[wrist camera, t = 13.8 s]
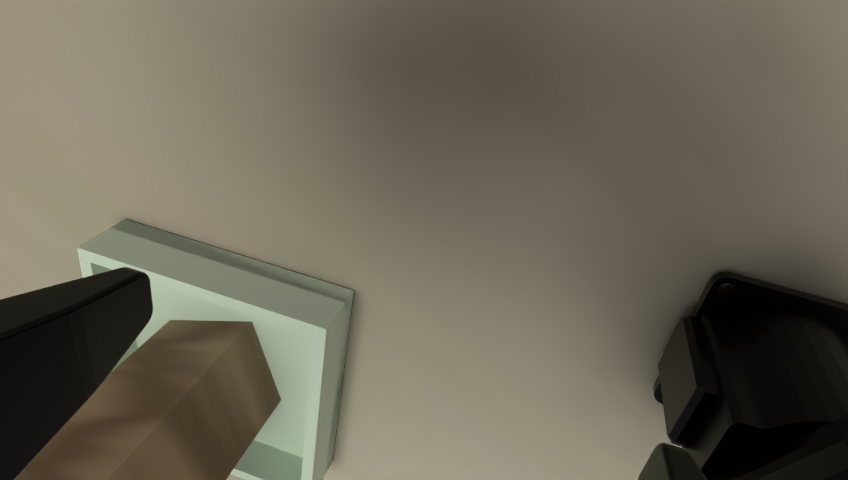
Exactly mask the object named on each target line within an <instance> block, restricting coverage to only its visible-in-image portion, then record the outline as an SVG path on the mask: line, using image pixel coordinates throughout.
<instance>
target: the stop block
mask: <svg viewBox="0 0 848 480" xmlns="http://www.w3.org/2000/svg"><path fill="white" fill-rule="evenodd" d="M280 401H281V398H280V395H279V392H278V390H277V387H276V384H275V382H274V379H273V376H272V374H271V371H270V368H269V366H268V363H267V360H266V358H265V355H264V352H263V349H262V347H261V344H260V341H259V339H258V336H257V333H256V331H255V328H254V325H253V323H252V322H248V321H198V320H169V321H168V322H167V323H166V324H165V325H164V326H163V327H162V328H160V329H159V330H158V331H157V332H156V333H155V334H154V335H152V336H151V337H150V338H149V339H148V340H147V341H146V342H145V343H143V344H142V345H141V346H140V347H139V348H138V349H137V350H136V351H134V352H133V353H132V354H131V355H130V356H129V357H128V358H126V359H125V360H124V361H123V362H122V363H121V364H120V365H119V366H117V367H116V368H115V369H114V370H113V371H112V372H111V373H110V374H109V375H108V376H107V378H106V379H105V380H104V382H103V383H102V384H101V385H100V386H99V388H98V389H97V390H96V391H95V392H94V394H93V395H92V396H91V397H90V398H89V399H88V400H87V401H86V403H85V404H84V405H83V406H82V407H81V408H80V409H79V410H78V411H77V412H76V413H75V414H74V415H73V417H72V418H71V419H70V420H69V421H68V422H67V423H66V424H65V425H64V426H63V427H62V428H61V430H60V431H59V432H58V433H57V434H56V435H55V436H54V437H53V438H52V439H51V440H50V441H49V443H48V444H47V445H46V446H45V447H44V448H43V449H42V450H41V451H40V452H39V453H38V454H37V455H36V457H35V458H34V459H33V460H32V461H31V462H30V463H29V464H28V465H27V466H26V467H25V468H24V470H23V471H22V472H21V473H20V474H19V475H18V476H17V477H16V478H15V479H14V480H226V479H227V477H228V476H229V475H230V473H231V472H232V470H233V469H234V467H235V466H236V464H237V463H238V462H239V460H240V459H241V457H242V456H243V454H244V453H245V451H246V450H247V449H248V447H249V446H250V444H251V443H252V441H253V440H254V439H255V437H256V436H257V434H258V433H259V431H260V430H261V428H262V427H263V426H264V424H265V423H266V421H267V420H268V418H269V417H270V415H271V414H272V413H273V411H274V410H275V408H276V407H277V405H278V404H279V403H280Z"/></svg>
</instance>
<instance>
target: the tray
mask: <svg viewBox="0 0 848 480" xmlns="http://www.w3.org/2000/svg"><path fill="white" fill-rule="evenodd" d="M77 250H78V255H79V260H80V266H81V271H82V276H83V278H84V277H88V276H92V275H95V274H99V273H103V272H107V271H110V270H114V269H118V268H122V267H128V268H132V269H135V270H138V271H141V272H144V273H146V274H147V275H148V277H149V279H150V285H151V294H152V302H153V313H152V316H151V319H150V321H149V322H148V324H147V325H146V326H145V328H144V329H143V330H142V332H141V333H140V334H139V336H138V337H137V338H136V340H135V341H134V342H133V344H132V345H131V346H130V348H129V349H128V350H127V351H126V353H125V354H124V355H123V357H122V358H121V359H120V361H119V362H118V363H117V365H116V366H115V367H114V369H115V368H116V367H117V366H119V365H120V364H121V363H122V362H123V361H124V360H125V359H126V358H128V357H129V356H130V355H131V354H132V353H133V352H134V351H136V350H137V349H138V348H139V347H140V346H141V345H142V344H143V343H145V342H146V341H147V340H148V339H149V338H150V337H151V336H152V335H154V334H155V333H156V332H157V331H158V330H159V329H160V328H162V327H163V326H164V325H165V324H166V323H167V322H168V321H169V320H198V321H248V322H252V323H253V325H254V328H255V331H256V333H257V336H258V339H259V341H260V344H261V347H262V349H263V352H264V355H265V358H266V360H267V363H268V366H269V368H270V371H271V374H272V376H273V379H274V382H275V384H276V387H277V390H278V392H279V395H280V398H281V401H280V403H279V404H278V405H277V407H276V408H275V410H274V411H273V413H272V414H271V415H270V417H269V418H268V420H267V421H266V423H265V424H264V426H263V427H262V428H261V430H260V431H259V433H258V434H257V436H256V437H255V439H254V440H253V441H252V443H251V444H250V446H249V447H248V449H247V450H246V451H245V453H244V454H243V456H242V457H241V459H240V460H239V462H238V463H237V464H236V466H235V467H234V469H233V470H232V472H231V473H230V474H232V475H234V476H237V477H239V478H242V479H245V480H323V478H324V476H325V474H326V472H327V470H328V468H329V466H330V464H331V462H332V460H333V455H334V447H335V439H336V431H337V423H338V415H339V407H340V398H341V390H342V382H343V374H344V366H345V358H346V350H347V342H348V333H349V325H350V317H351V309H352V301H353V293H354V291H353V290H350V289H347V288H344V287H341V286H337V285H334V284H331V283H328V282H325V281H321V280H318V279H315V278H312V277H309V276H306V275H302V274H299V273H296V272H293V271H290V270H286V269H283V268H280V267H277V266H274V265H271V264H267V263H264V262H261V261H258V260H255V259H251V258H248V257H245V256H242V255H239V254H235V253H232V252H229V251H226V250H223V249H220V248H216V247H213V246H210V245H207V244H204V243H200V242H197V241H194V240H191V239H188V238H184V237H181V236H178V235H175V234H172V233H169V232H165V231H162V230H159V229H156V228H153V227H149V226H146V225H143V224H140V223H137V222H133V221H130V220H127V219H125V220H123V221H121V222H120V223H118V224H116V225H114V226H113V227H111V228H109V229H108V230H106V231H104V232H103V233H101V234H99V235H98V236H96V237H94V238H92V239H91V240H89V241H87V242H86V243H84V244H82V245H81V246H79V247H77ZM114 369H113V370H114ZM113 370H112V371H113ZM112 371H111V372H112Z"/></svg>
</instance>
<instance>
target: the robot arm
mask: <svg viewBox="0 0 848 480" xmlns="http://www.w3.org/2000/svg"><path fill="white" fill-rule="evenodd" d="M725 283H729V284H731V285H732V286H731V287H730V288H728V289H720V288H719V287H720V286H721V285H722V284H725ZM152 313H153V302H152V294H151V285H150V279H149V277H148V275H147V274H146V273H144V272H141V271H138V270H135V269H132V268H128V267H122V268H118V269H114V270H110V271H107V272H103V273H99V274H95V275H92V276H88V277H84V278H80V279H77V280H73V281H69V282H65V283H62V284H58V285H54V286H50V287H46V288H43V289H39V290H35V291H31V292H28V293H24V294H20V295H16V296H13V297H9V298H5V299H1V300H0V480H14V479H15V478H16V477H17V476H18V475H19V474H20V473H21V472H22V471H23V470H24V468H25V467H26V466H27V465H28V464H29V463H30V462H31V461H32V460H33V459H34V458H35V457H36V455H37V454H38V453H39V452H40V451H41V450H42V449H43V448H44V447H45V446H46V445H47V444H48V443H49V441H50V440H51V439H52V438H53V437H54V436H55V435H56V434H57V433H58V432H59V431H60V430H61V428H62V427H63V426H64V425H65V424H66V423H67V422H68V421H69V420H70V419H71V418H72V417H73V415H74V414H75V413H76V412H77V411H78V410H79V409H80V408H81V407H82V406H83V405H84V404H85V403H86V401H87V400H88V399H89V398H90V397H91V396H92V395H93V394H94V392H95V391H96V390H97V389H98V388H99V386H100V385H101V384H102V383H103V382H104V380H105V379H106V378H107V376H108V375H109V374H110V373H111V371H112V370H113V369H114V367H115V366H116V365H117V363H118V362H119V361H120V359H121V358H122V357H123V355H124V354H125V353H126V351H127V350H128V349H129V348H130V346H131V345H132V344H133V342H134V341H135V340H136V338H137V337H138V336H139V334H140V333H141V332H142V330H143V329H144V328H145V326H146V325H147V324H148V322H149V321H150V319H151V316H152ZM658 368H659V377H658V379H657V381H656V383H655V385H654V388H653V389H654V396H655V399H656V400H657V401H658V402H660V403H662V404H663V406H664V414H665V421H666V429H667V436H668V437H669V439H670V441H671V443H673V444H676V445H679V446H682V448H679V447H676V446H673V445H669V444H666V443H660V444H658V445H657V446H656V448H655V449H654V451H653V452H652V454H651V456H650V458H649V459H648V461H647V463H646V465H645V466H644V468H643V470H642V471H641V473H640V475H639V478H638V480H848V305H846V304H843V303H839V302H835V301H832V300H828V299H825V298H821V297H817V296H814V295H810V294H807V293H803V292H799V291H796V290H792V289H789V288H785V287H781V286H778V285H774V284H770V283H767V282H763V281H760V280H756V279H752V278H749V277H745V276H742V275H738V274H734V273H731V272H721V273H717V274H716V275H714V276H713V277H712V278H711V279H710V281H709V283H708V285H707V287H706V289H705V290H704V292H703V294H702V296H701V298H700V300H699V302H698V304H697V305H696V307H695V309H694V311H693V313H692V315H688V316H686V317H684V318H682V319H681V321H680V323H679V325H678V327H677V329H676V331H675V333H674V334H673V336H672V338H671V340H670V342H669V344H668V346H667V348H666V350H665V352H664V354H663V355H662V357H661V359H660V361H659V364H658Z"/></svg>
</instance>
